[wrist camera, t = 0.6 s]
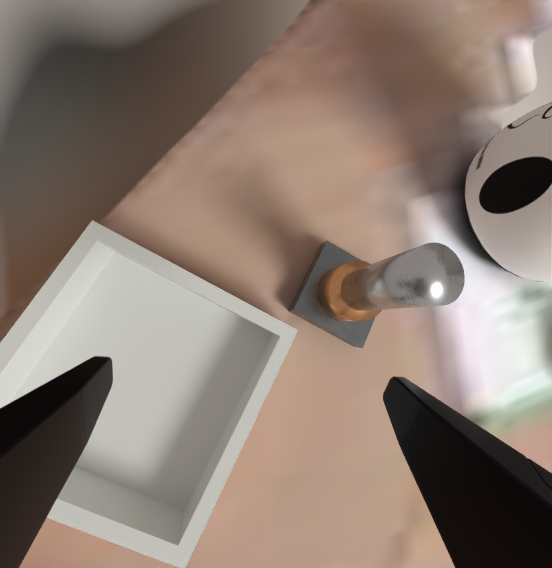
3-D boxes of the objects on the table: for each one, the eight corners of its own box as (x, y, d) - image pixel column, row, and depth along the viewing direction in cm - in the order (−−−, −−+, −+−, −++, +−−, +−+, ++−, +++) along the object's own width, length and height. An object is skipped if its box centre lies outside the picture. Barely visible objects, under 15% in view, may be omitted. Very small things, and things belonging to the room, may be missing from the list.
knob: (356, 330, 22) (461, 338, 13) (309, 304, 22) (381, 292, 12) (376, 283, 23) (487, 256, 14) (332, 257, 23) (415, 210, 13)
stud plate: (353, 346, 24) (362, 348, 22) (288, 310, 23) (293, 310, 21) (380, 280, 25) (390, 278, 24) (320, 245, 24) (327, 240, 23)
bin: (190, 524, 19) (184, 569, 16) (-28, 435, 17) (-92, 465, 14) (285, 328, 23) (298, 330, 19) (113, 237, 21) (92, 220, 17)
